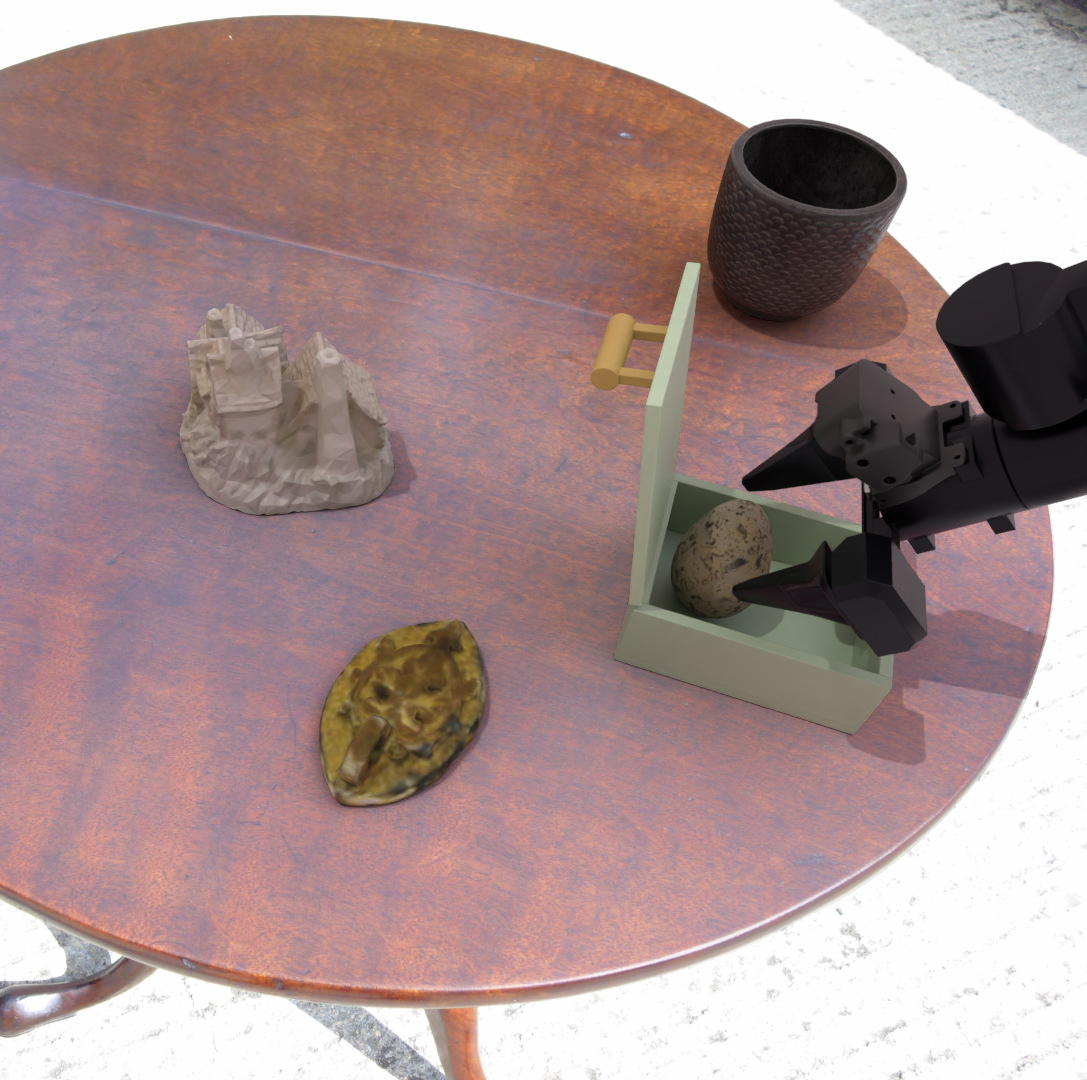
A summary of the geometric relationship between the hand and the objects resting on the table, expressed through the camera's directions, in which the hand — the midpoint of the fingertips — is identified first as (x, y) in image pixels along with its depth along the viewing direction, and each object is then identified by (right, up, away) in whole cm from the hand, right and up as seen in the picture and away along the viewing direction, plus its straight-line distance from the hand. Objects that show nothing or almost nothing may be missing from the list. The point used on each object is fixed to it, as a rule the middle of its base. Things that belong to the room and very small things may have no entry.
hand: (739, 537), depth 67 cm
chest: (+2, -6, +6) cm, 8 cm away
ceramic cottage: (-30, +8, +15) cm, 34 cm away
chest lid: (-5, +6, -4) cm, 9 cm away
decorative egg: (-1, -5, +6) cm, 7 cm away
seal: (-21, -11, +1) cm, 24 cm away
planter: (+12, +22, +28) cm, 38 cm away
